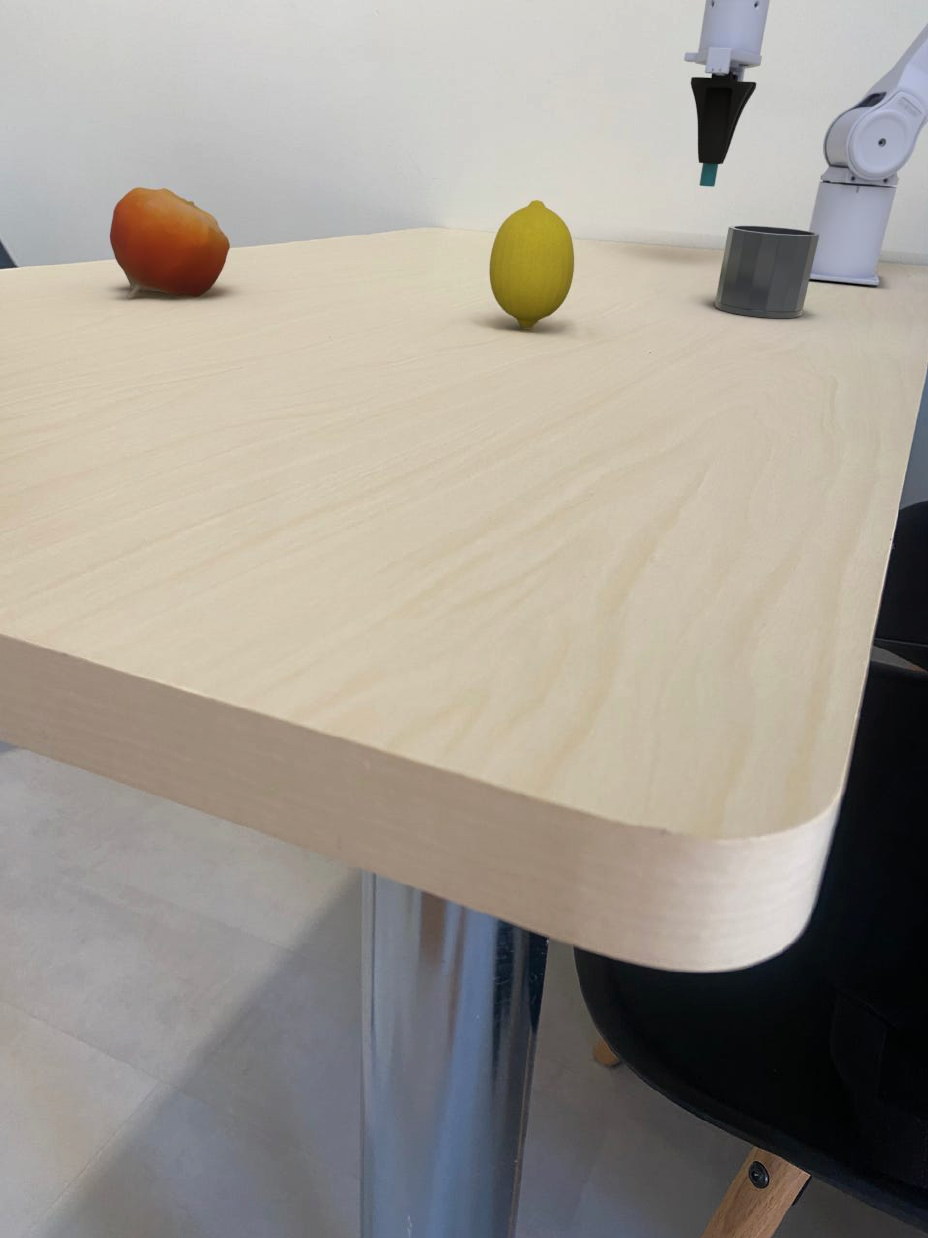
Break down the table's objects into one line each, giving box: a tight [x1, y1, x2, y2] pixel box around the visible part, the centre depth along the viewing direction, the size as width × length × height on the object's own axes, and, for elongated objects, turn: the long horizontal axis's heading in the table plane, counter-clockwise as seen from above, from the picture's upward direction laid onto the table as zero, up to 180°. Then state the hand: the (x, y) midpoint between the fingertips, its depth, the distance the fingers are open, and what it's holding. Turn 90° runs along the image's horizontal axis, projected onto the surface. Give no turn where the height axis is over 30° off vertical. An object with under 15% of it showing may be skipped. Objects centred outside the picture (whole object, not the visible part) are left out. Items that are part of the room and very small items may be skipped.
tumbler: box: [714, 224, 819, 319], centre depth 72 cm, size 7×7×6 cm
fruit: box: [109, 186, 231, 300], centre depth 65 cm, size 8×8×8 cm
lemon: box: [489, 199, 575, 330], centre depth 60 cm, size 6×6×8 cm
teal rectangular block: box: [698, 163, 719, 188], centre depth 89 cm, size 2×2×8 cm
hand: (710, 163), depth 90 cm, fingers closed on teal rectangular block, 1 cm apart
